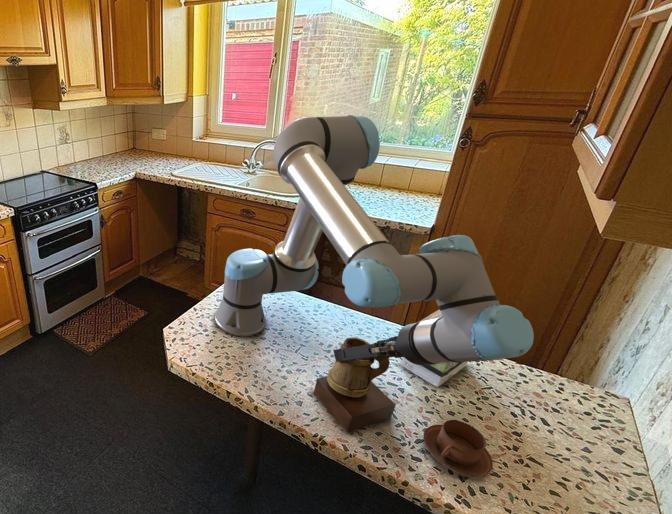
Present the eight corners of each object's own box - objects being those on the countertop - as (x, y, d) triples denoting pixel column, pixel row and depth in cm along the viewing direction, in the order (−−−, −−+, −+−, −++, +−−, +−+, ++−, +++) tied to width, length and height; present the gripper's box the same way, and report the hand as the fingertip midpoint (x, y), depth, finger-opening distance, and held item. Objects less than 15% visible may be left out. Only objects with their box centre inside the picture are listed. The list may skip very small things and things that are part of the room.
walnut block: (313, 393, 99) (317, 378, 96) (353, 383, 102) (358, 368, 99) (346, 432, 88) (351, 416, 86) (390, 420, 92) (396, 404, 89)
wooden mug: (381, 415, 85) (405, 349, 77) (320, 383, 94) (336, 320, 86) (394, 393, 91) (418, 329, 83) (336, 364, 99) (352, 304, 91)
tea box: (438, 389, 100) (459, 342, 93) (399, 365, 108) (415, 321, 101) (466, 366, 107) (487, 322, 100) (428, 346, 115) (444, 303, 108)
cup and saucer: (484, 494, 76) (497, 473, 73) (414, 455, 83) (423, 435, 81) (493, 453, 84) (504, 433, 81) (428, 421, 91) (437, 401, 88)
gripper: (382, 372, 68) (316, 376, 89) (490, 356, 71) (401, 363, 92) (370, 328, 70) (308, 342, 91) (474, 314, 73) (391, 331, 95)
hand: (355, 353), depth 92 cm, fingers closed on wooden mug, 9 cm apart
